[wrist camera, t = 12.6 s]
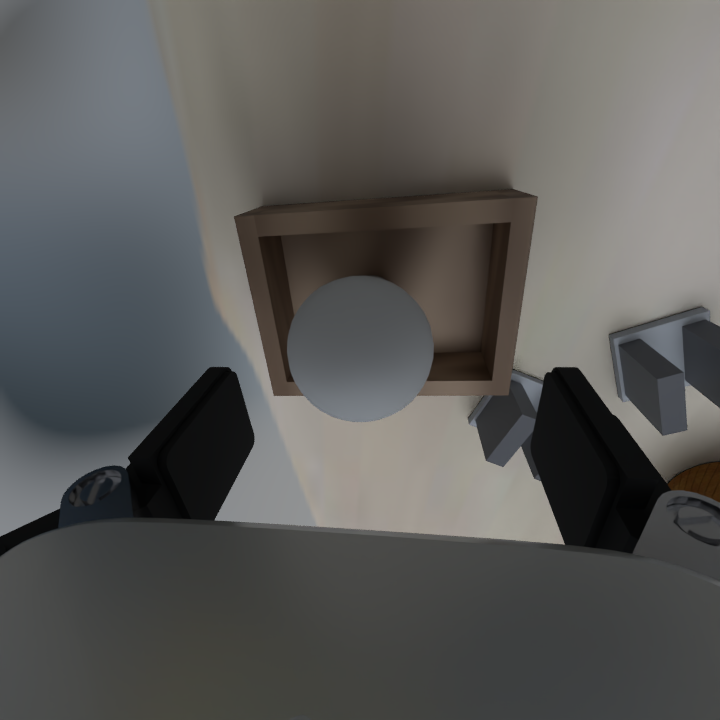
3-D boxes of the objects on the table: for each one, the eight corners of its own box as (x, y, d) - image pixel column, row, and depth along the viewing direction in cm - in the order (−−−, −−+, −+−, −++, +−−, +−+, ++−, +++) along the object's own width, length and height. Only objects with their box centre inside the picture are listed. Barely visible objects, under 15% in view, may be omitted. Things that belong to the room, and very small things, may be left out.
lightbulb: (314, 248, 22) (244, 317, 12) (419, 232, 21) (433, 293, 11) (334, 341, 24) (290, 458, 15) (427, 331, 23) (445, 449, 14)
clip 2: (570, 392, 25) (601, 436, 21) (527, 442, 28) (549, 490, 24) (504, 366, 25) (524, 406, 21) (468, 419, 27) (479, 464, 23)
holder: (513, 189, 20) (537, 196, 16) (493, 360, 25) (508, 395, 21) (262, 206, 21) (234, 216, 18) (291, 363, 26) (273, 395, 23)
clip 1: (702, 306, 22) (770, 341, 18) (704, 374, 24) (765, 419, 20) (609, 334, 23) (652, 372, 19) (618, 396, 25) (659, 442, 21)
